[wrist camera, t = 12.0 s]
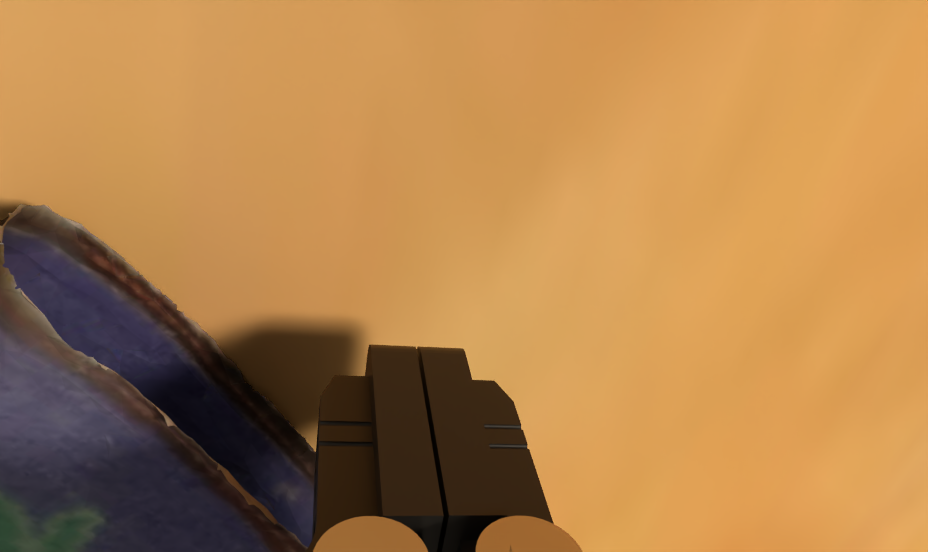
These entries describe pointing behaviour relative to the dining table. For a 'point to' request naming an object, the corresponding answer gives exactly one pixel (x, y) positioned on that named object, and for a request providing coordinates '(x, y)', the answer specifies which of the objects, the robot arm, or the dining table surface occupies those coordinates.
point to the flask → (129, 414)
